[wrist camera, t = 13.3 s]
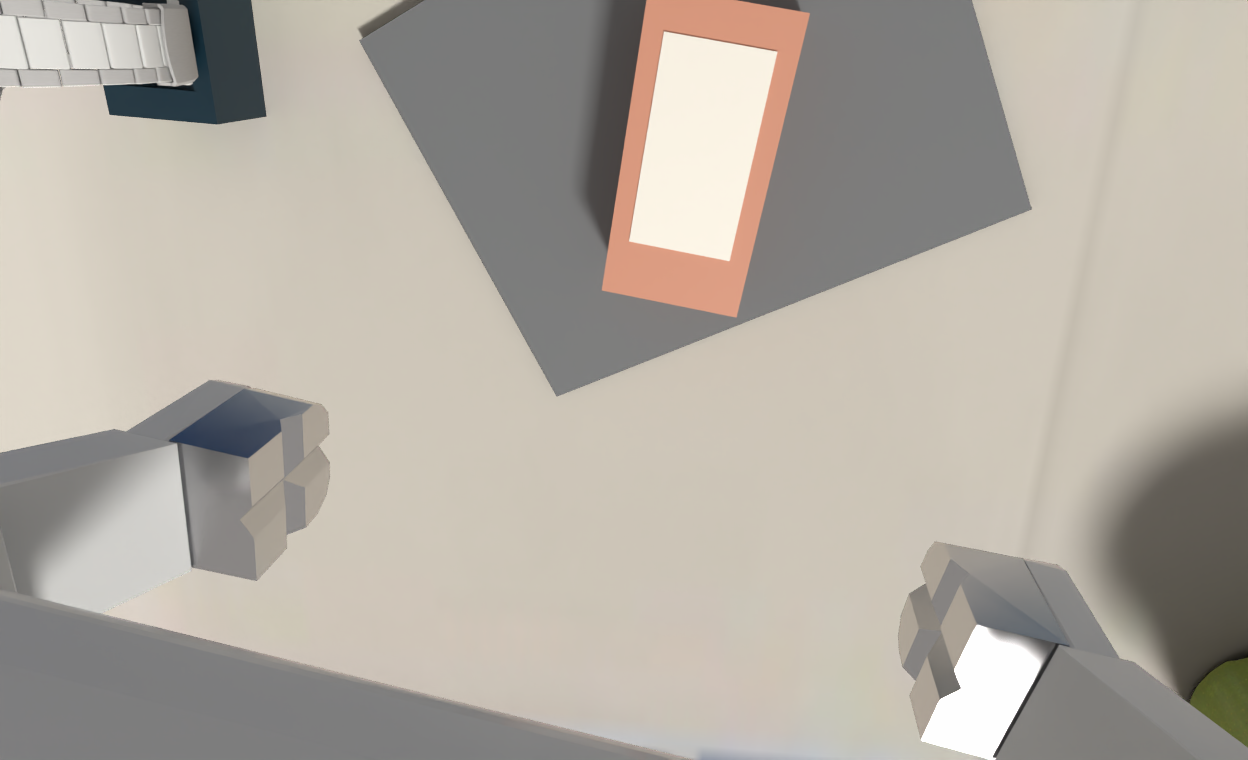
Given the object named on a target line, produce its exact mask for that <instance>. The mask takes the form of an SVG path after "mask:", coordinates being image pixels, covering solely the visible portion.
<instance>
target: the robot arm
mask: <svg viewBox="0 0 1248 760" xmlns="http://www.w3.org/2000/svg"><path fill="white" fill-rule="evenodd" d="M328 435H329V418H328V412H327V410H326V409H325V408H324V406H323V405H322V404H319V403H314V402H310V401H306V400H302V399H298V398H294V397H290V396H286V395H282V394H277V393H273V392H269V391H265V390H261V389H257V388H251V387H249V386H245V385H241V384H236V383H231V382H226V381H221V380H209V381H207V382H206V383H204V384H202V385H201V386H199V387H198V388H196V389H194V390H193V391H191V392H189V393H188V394H186V395H185V396H183V397H181V398H180V399H178V400H176V401H175V402H173V403H172V404H170V405H168V406H167V407H165V408H164V409H162V410H160V411H159V412H157V413H155V414H154V415H152V416H151V417H149V418H147V419H146V420H144V421H143V422H141V423H139V424H138V425H136V426H134V427H133V428H131V429H130V430H128V431H126V432H125V431H120V430H116V429H113V430H108V431H103V432H98V433H94V434H89V435H84V436H79V437H74V438H69V439H65V440H60V441H55V442H50V443H45V444H40V445H36V446H31V447H26V448H21V449H16V450H11V451H7V452H2V453H0V760H692V759H688V758H684V757H680V756H676V755H672V754H668V753H664V752H660V751H656V750H652V749H648V748H644V747H640V746H636V745H632V744H628V743H623V742H619V741H615V740H611V739H607V738H603V737H599V736H595V735H591V734H587V733H583V732H579V731H574V730H570V729H566V728H562V727H558V726H554V725H550V724H546V723H542V722H538V721H534V720H530V719H525V718H521V717H517V716H513V715H509V714H505V713H501V712H497V711H493V710H489V709H485V708H481V707H477V706H473V705H469V704H465V703H461V702H456V701H452V700H448V699H444V698H440V697H436V696H432V695H428V694H424V693H420V692H416V691H412V690H408V689H404V688H400V687H396V686H392V685H388V684H384V683H380V682H376V681H372V680H368V679H363V678H359V677H355V676H351V675H347V674H343V673H339V672H335V671H331V670H327V669H323V668H319V667H315V666H311V665H307V664H303V663H299V662H295V661H291V660H287V659H283V658H279V657H275V656H270V655H266V654H262V653H258V652H254V651H250V650H246V649H242V648H238V647H234V646H230V645H226V644H222V643H218V642H214V641H210V640H206V639H202V638H198V637H194V636H190V635H186V634H181V633H177V632H173V631H169V630H165V629H161V628H157V627H153V626H149V625H145V624H141V623H137V622H133V621H129V620H125V619H121V618H117V617H113V616H109V615H105V614H101V613H103V612H106V611H108V610H110V609H112V608H114V607H116V606H118V605H120V604H122V603H125V602H127V601H129V600H131V599H133V598H135V597H137V596H139V595H141V594H144V593H146V592H148V591H150V590H152V589H154V588H156V587H158V586H160V585H163V584H165V583H167V582H169V581H171V580H173V579H175V578H177V577H179V576H182V575H184V574H186V573H188V572H190V571H191V570H192V567H193V568H198V569H202V570H207V571H212V572H217V573H221V574H226V575H231V576H236V577H240V578H245V579H250V580H255V581H257V580H258V579H259V578H260V577H261V576H262V575H263V574H264V573H265V572H266V570H267V569H268V568H269V567H270V566H271V565H272V564H273V563H274V562H275V561H276V560H277V558H278V557H279V556H280V555H281V554H282V553H283V552H284V551H285V550H286V549H287V534H290V533H292V532H295V531H298V530H300V529H303V528H306V527H307V526H308V524H309V523H310V522H311V521H312V520H313V519H314V517H315V516H316V515H317V514H318V512H319V510H320V508H321V505H322V503H323V501H324V499H325V497H326V495H327V489H328V484H329V479H330V462H329V460H328V459H327V457H326V456H325V454H324V453H323V451H322V450H321V448H320V447H319V445H320V444H321V443H322V442H323V441H324V439H325V438H326V437H327V436H328ZM921 570H922V573H923V576H924V579H925V582H926V584H924V585H922V586H921V587H919V588H918V589H916V590H914V591H913V592H911V593H909V595H908V598H907V600H906V603H905V606H904V608H903V611H902V614H901V619H900V626H899V633H898V643H899V654H900V658H901V663H902V667H903V668H904V669H905V670H906V671H907V672H908V673H909V674H910V675H911V676H912V678H913V679H914V680H915V681H916V682H915V684H914V686H913V688H912V691H911V693H910V699H911V703H912V707H913V711H914V715H915V719H916V723H917V727H918V730H919V734H920V738H921V741H925V742H929V743H933V744H936V745H940V746H944V747H948V748H951V749H955V750H959V751H962V752H966V753H970V754H974V755H977V756H981V757H985V758H989V759H992V760H1248V747H1246V746H1245V745H1244V744H1242V743H1241V742H1240V741H1238V740H1237V739H1236V738H1234V737H1233V736H1232V735H1230V734H1229V733H1228V732H1226V731H1225V730H1224V729H1222V728H1221V727H1220V726H1218V725H1217V724H1216V723H1214V722H1213V721H1212V720H1210V719H1209V718H1208V717H1206V716H1205V715H1204V714H1202V713H1201V712H1200V711H1198V710H1197V709H1196V708H1194V707H1193V706H1192V705H1190V704H1189V703H1188V702H1186V701H1185V700H1184V699H1182V698H1181V697H1180V696H1178V695H1177V694H1176V693H1174V692H1173V691H1172V690H1170V689H1169V688H1168V687H1166V686H1165V685H1164V684H1162V683H1161V682H1160V681H1158V680H1157V679H1156V678H1154V677H1153V676H1152V675H1150V674H1149V673H1148V672H1146V671H1145V670H1144V669H1142V668H1141V667H1140V666H1138V665H1137V664H1136V663H1134V662H1132V661H1128V660H1123V659H1120V658H1119V656H1118V655H1117V653H1116V652H1115V650H1114V648H1113V647H1112V645H1111V643H1110V642H1109V640H1108V638H1107V637H1106V635H1105V633H1104V632H1103V630H1102V629H1101V627H1100V625H1099V624H1098V622H1097V620H1096V619H1095V617H1094V615H1093V614H1092V612H1091V610H1090V609H1089V607H1088V606H1087V604H1086V602H1085V601H1084V599H1083V597H1082V596H1081V594H1080V592H1079V591H1078V589H1077V587H1076V586H1075V584H1074V583H1073V581H1072V579H1071V578H1070V576H1069V574H1068V573H1067V571H1066V570H1064V569H1063V568H1061V567H1060V566H1058V565H1057V564H1051V563H1046V562H1040V561H1035V560H1029V559H1024V558H1018V557H1012V556H1007V555H1002V554H997V553H992V552H987V551H981V550H976V549H971V548H966V547H961V546H956V545H951V544H946V543H941V542H934V543H933V545H932V546H931V547H930V548H929V550H928V551H927V553H926V555H925V558H924V560H923V562H922V564H921Z"/></svg>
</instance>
